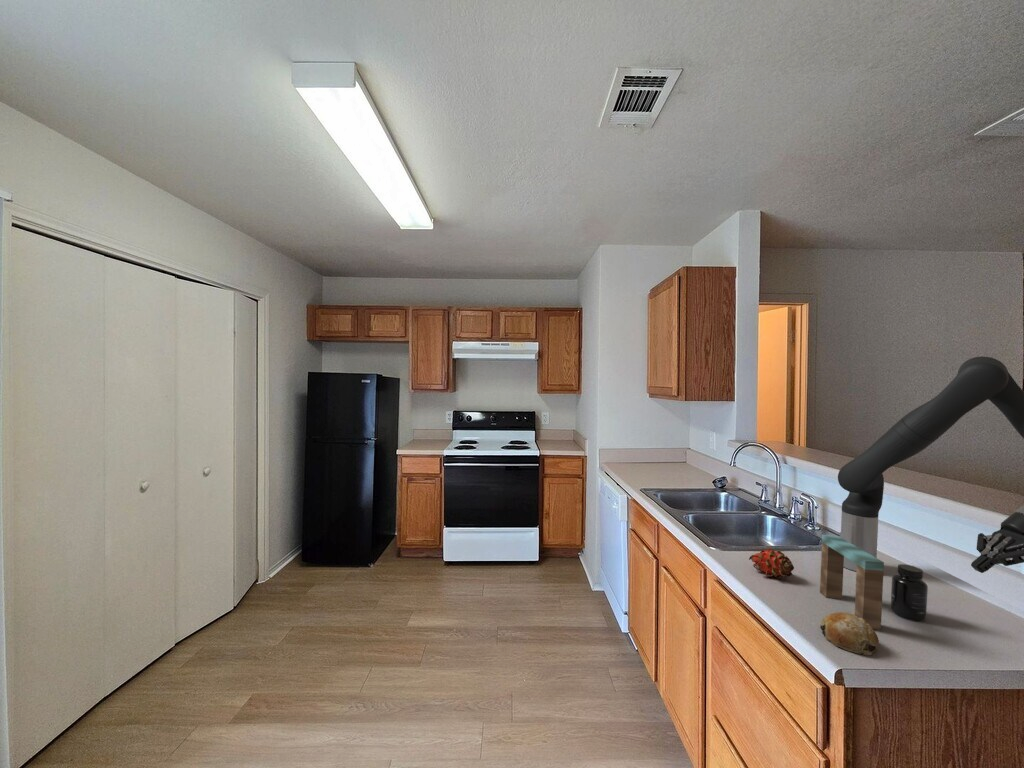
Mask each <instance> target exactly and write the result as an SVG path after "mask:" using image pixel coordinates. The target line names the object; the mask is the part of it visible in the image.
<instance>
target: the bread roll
mask: <svg viewBox="0 0 1024 768" xmlns="http://www.w3.org/2000/svg"><path fill="white" fill-rule="evenodd" d="M818 626H819V628H820V630H821V634H822V635H823V637H824V638H825V639H826V640H827V641H828V642H830V643H831V644H832V645H833V646H835V647H837V648H840V649H843V650H845V651H847V652H850V653H854V654H857V655H863V656H871V655H872V654H873V653H874V652H876V650H878V648H879V646H880V642H879V641H880V640H879V637H878V634H877V633H876V631H875V629H873V628H872V627H871V626H870V625H869V624H868V623H866V621H865V620H864V619H863V618H859V617H857V616H855V614H852V613H849V612H842V611H841V612H832V613H830V614H828V615H825V616H822V620H821V621H820V622H819V624H818Z"/></svg>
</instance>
